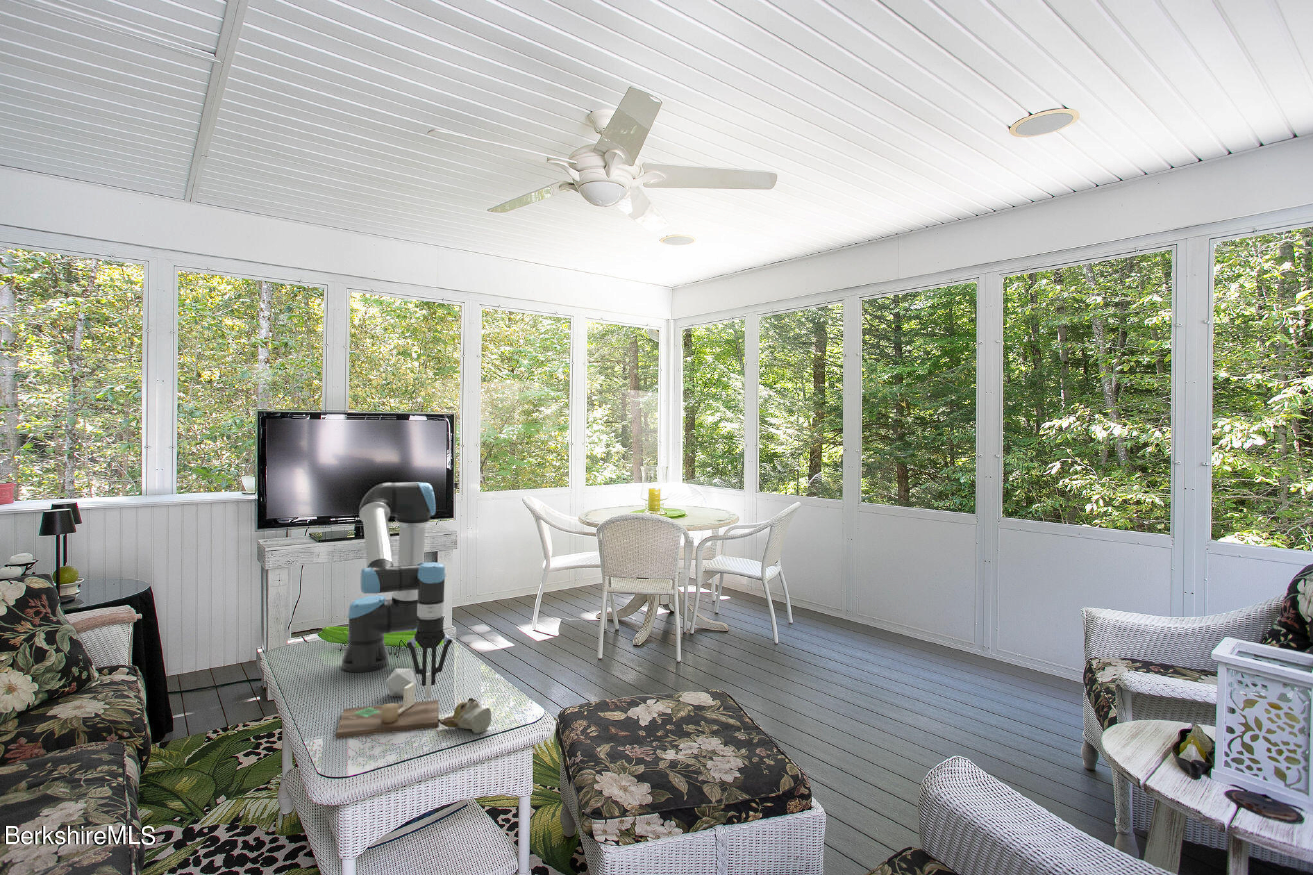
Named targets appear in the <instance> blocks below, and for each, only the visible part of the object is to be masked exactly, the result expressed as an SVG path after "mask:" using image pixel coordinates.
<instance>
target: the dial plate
mask: <svg viewBox="0 0 1313 875" xmlns="http://www.w3.org/2000/svg"><path fill="white" fill-rule="evenodd" d="M397 704H398V705H399V708H398V710H399V709H401V708H402V707H403V702H401V703H399V702H398V703H397ZM383 705H384V704H381V705H378V704H377V705H369V706H360V707H359V706H358V707H348V708H343V711H342V713H341V717H340V720H339V724H338V726H337V729H336V733H335V734H336V735H335V738H336V739H341V738H350V737H358V736H370V735H377V734H387V733H388V734H389V733H397V732H404V731H405V732H407V731H415V730H422V729H423V730H424V729H433V728H439V727H440V722H438V719H440V714H439V713H440V708H439V705H440V704H439V699H432V700H421V701H415V704H413V705H412V706H411V707H409V708H408V709H406V710H404V711H403V712H402V713H400V714H399V715H398V720H397V721H395V722H391V723H384V722H382V721H381V710H382V706H383Z"/></svg>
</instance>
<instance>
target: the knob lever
mask: <svg viewBox="0 0 1313 875" xmlns="http://www.w3.org/2000/svg"><path fill="white" fill-rule="evenodd" d="M402 698H403V702H402V703H403V707H402V708H401V709H399V710H398V708H399V705H398V704H399V703H396V702H395V703H393V702H392V703H386V704H382V705H383V706H382V710H381V721H382V722H384V723H391V722H395V721H397V720H398V715H399V714H400V713H402V712H403V711H404V710H406V709H408V708H409V707H411V706H412V705H413V704H415V702H416V700H415V699H416V685H415V683H411V684H409V685H408V686H406V687H404V697H402Z"/></svg>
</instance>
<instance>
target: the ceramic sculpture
mask: <svg viewBox="0 0 1313 875" xmlns="http://www.w3.org/2000/svg"><path fill="white" fill-rule="evenodd" d="M492 714H493V713H492V711H491V708H490V707H482V706H481V705H480V703H479V701H478V700H477V699H474V698H473V697H469V698H468V700H464V701H461V702H460V703H458V704H456V707H454V713H453V715H452V716H447V717H444V718H439V719H438V722H439V724H441V725H442V726H444V727H446V728H452V729H453V728H460V729H464V730H471V731H472V732H473V733H474V734H475V735H476V734H482V733H485V731H486V730H488V728H489V727H490V725H491V722H492V716H493V715H492Z"/></svg>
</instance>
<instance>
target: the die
mask: <svg viewBox="0 0 1313 875" xmlns="http://www.w3.org/2000/svg"><path fill="white" fill-rule="evenodd" d="M384 683H385V685H386V687H387V690H388V692H389V694H390V697H399V698H400V697H402V698H404V687H406V686H408V685H409V684H411V683H415V686H416V685H417V684H418V682H417V678H416V677H415V674H414V672H413V669H412V668H394V670H393V671H392V672H391V674H390V675H389V676H388V677H387V679H386V681H385V682H384Z"/></svg>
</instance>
